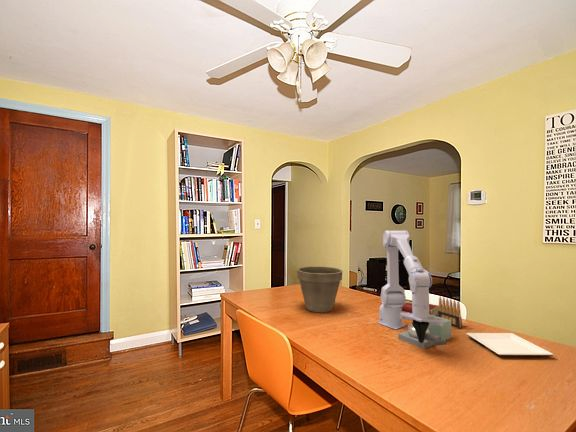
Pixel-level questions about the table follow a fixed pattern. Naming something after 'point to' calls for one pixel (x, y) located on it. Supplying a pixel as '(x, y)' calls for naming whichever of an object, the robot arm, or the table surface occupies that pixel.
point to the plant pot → (319, 287)
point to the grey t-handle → (427, 335)
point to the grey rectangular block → (435, 331)
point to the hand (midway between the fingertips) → (421, 341)
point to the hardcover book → (408, 308)
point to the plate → (508, 344)
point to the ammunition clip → (450, 312)
